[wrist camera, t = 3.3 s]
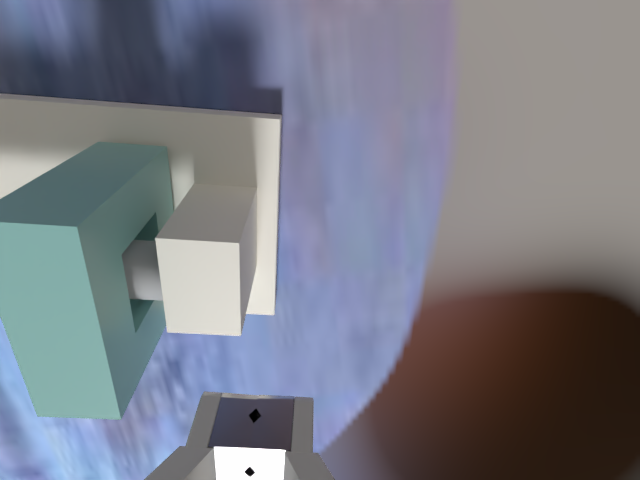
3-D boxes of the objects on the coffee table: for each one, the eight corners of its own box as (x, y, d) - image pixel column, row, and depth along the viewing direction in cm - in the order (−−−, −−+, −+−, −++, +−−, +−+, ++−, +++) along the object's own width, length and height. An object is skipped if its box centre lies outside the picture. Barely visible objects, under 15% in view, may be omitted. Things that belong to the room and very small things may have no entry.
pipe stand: (-78, 285, 23) (-209, 376, 17) (-173, 80, 18) (-408, 111, 12) (275, 304, 24) (263, 396, 18) (281, 114, 19) (267, 158, 13)
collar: (125, 288, 22) (37, 416, 15) (98, 141, 18) (-36, 220, 11) (181, 292, 22) (120, 419, 15) (166, 146, 18) (77, 226, 11)
